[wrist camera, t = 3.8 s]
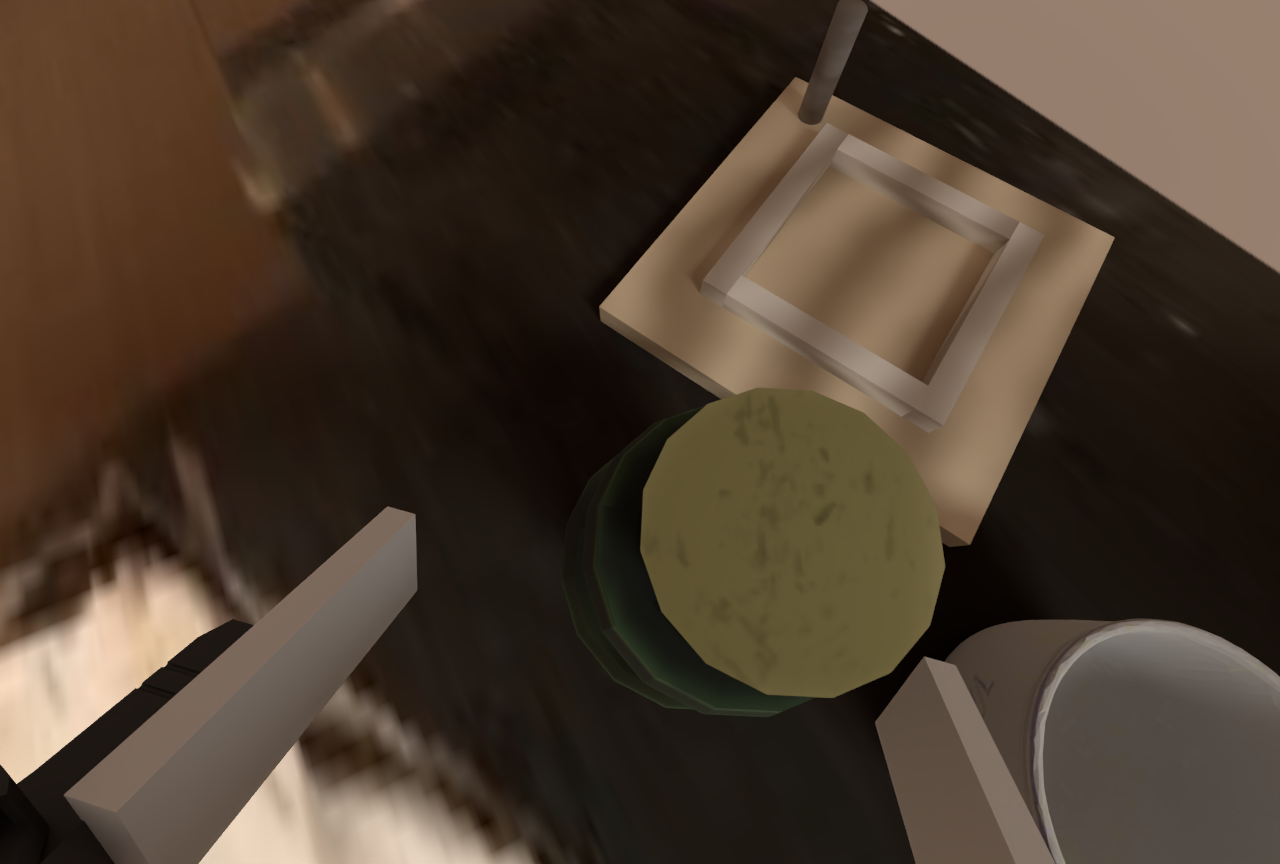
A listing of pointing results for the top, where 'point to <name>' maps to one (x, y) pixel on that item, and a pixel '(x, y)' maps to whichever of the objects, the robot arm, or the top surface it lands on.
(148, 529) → the top surface
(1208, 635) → the teacup
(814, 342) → the locating board
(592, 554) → the potion bottle
